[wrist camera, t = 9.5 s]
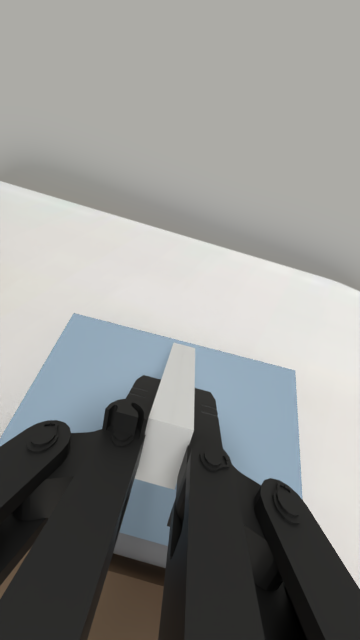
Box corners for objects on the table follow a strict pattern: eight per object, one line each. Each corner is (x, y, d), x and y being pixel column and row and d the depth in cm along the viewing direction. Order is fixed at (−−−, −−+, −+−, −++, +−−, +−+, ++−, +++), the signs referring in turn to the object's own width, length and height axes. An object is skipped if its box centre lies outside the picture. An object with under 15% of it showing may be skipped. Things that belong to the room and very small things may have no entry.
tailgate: (310, 617, 9) (295, 370, 14) (-46, 514, 9) (73, 312, 14) (292, 592, 10) (285, 373, 15) (-23, 502, 10) (79, 319, 16)
